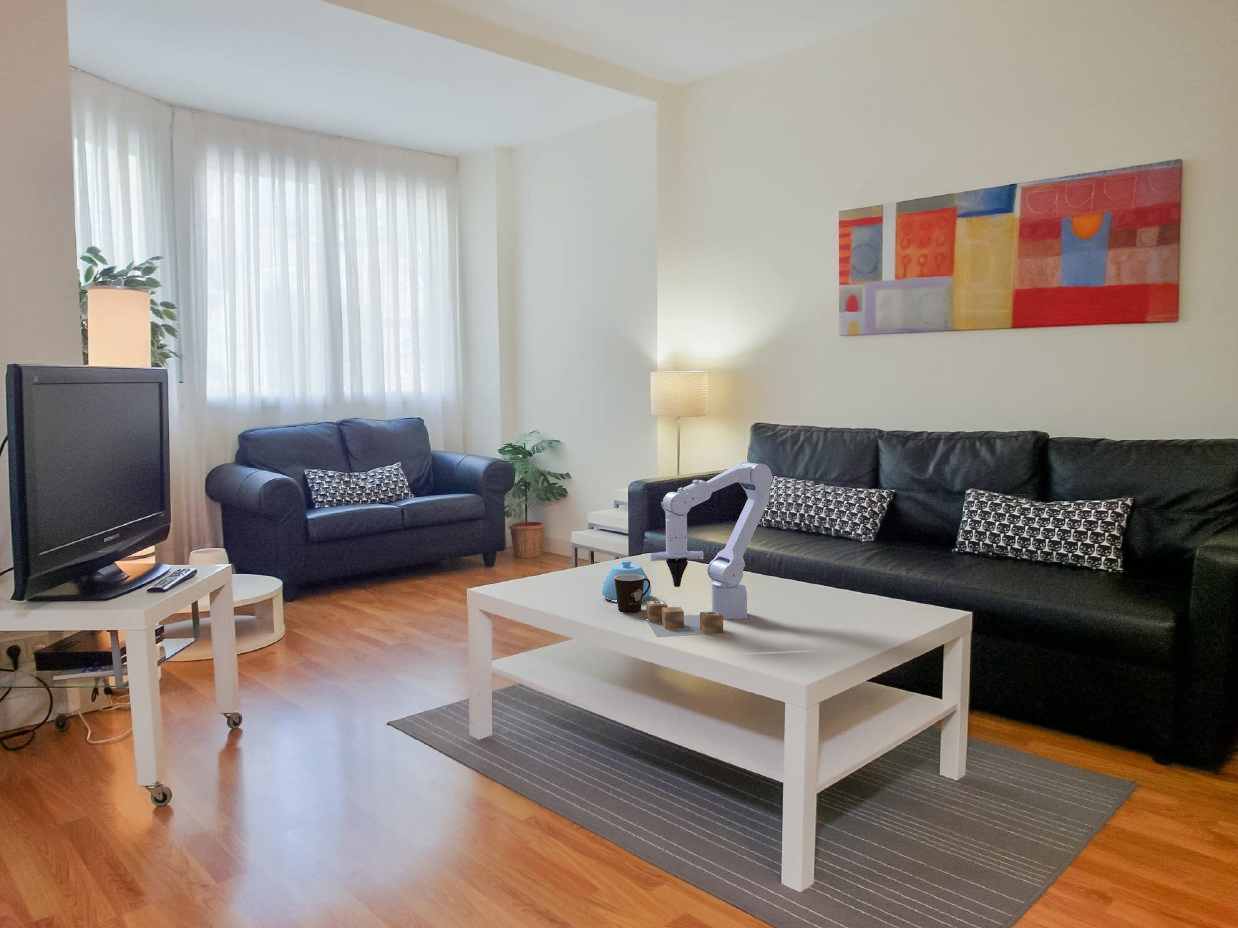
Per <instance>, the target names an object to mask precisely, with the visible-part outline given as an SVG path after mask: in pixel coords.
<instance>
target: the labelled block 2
mask: <svg viewBox="0 0 1238 928" xmlns="http://www.w3.org/2000/svg"><path fill="white" fill-rule="evenodd" d="M699 615H700V630H701V631H702V632H703V633H704V634H710V635H716V634H715V633H723V631H724V619H723V615H722V614H721V613H720V612H719V611H714V612H709V611H700V612H699Z"/></svg>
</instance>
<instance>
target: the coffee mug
mask: <svg viewBox="0 0 1238 928" xmlns="http://www.w3.org/2000/svg"><path fill="white" fill-rule="evenodd" d="M614 579H615V587H616V595H617V602H616V603H617V610H619V611H620V612H619V611H618V612H619V613H621V612H623V613H622V614H636V613H637V612H638V613H640V612H641V611H642V604H643V601H642V598H643V596H644V595H645V594H646V593H647V592H648V590H649V588H650V586H651V580H650V579H649V578H648V579H646V578H644V576H641V575H635V574H625V575H618V576H615V577H614ZM645 580H646V581H648V588H647V590H646V591H645V592H644V593H643V587H644V581H645ZM639 611H640V612H639ZM638 613H637V614H638Z"/></svg>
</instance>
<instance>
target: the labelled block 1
mask: <svg viewBox="0 0 1238 928" xmlns="http://www.w3.org/2000/svg"><path fill="white" fill-rule="evenodd" d="M645 603H646V606H645V607H646V617H647V619H648V621H649V622H662V608H664V607H669V606H668V603H666V601H665V600H653V601H649V600H648V601H646V602H645Z"/></svg>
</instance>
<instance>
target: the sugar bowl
mask: <svg viewBox="0 0 1238 928" xmlns="http://www.w3.org/2000/svg"><path fill="white" fill-rule="evenodd" d="M625 574H635V575H641V576H644V578H646V579H649V577H648V576H647V574H646V572H645V571H644V569H643V567H642V566H640V565H638V564H633V563H632V560H621V564H616V565H612V566H611V568H610V570H609V571H608V572H607V574H606V576H605V578H604V580H603V584H602V588H601V594H602V596H604V598H605V597H606V598H608V599H610V600H617V595H616V587H615V579H614V577H615V576H618V575H625ZM651 586H652V585H650V588H649V590H648V592H647V593H646V594H645V595H644V596H643V598H642V600H644V599H646V598H647V599H648V598H649V596H650V595H651V594H652V587H651ZM647 588H648V581H646V580H645V581H644V587H643V593H644V592H645V591H646V590H647ZM606 598H605V599H606ZM647 599H646V600H647ZM644 601H645V600H644Z"/></svg>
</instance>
